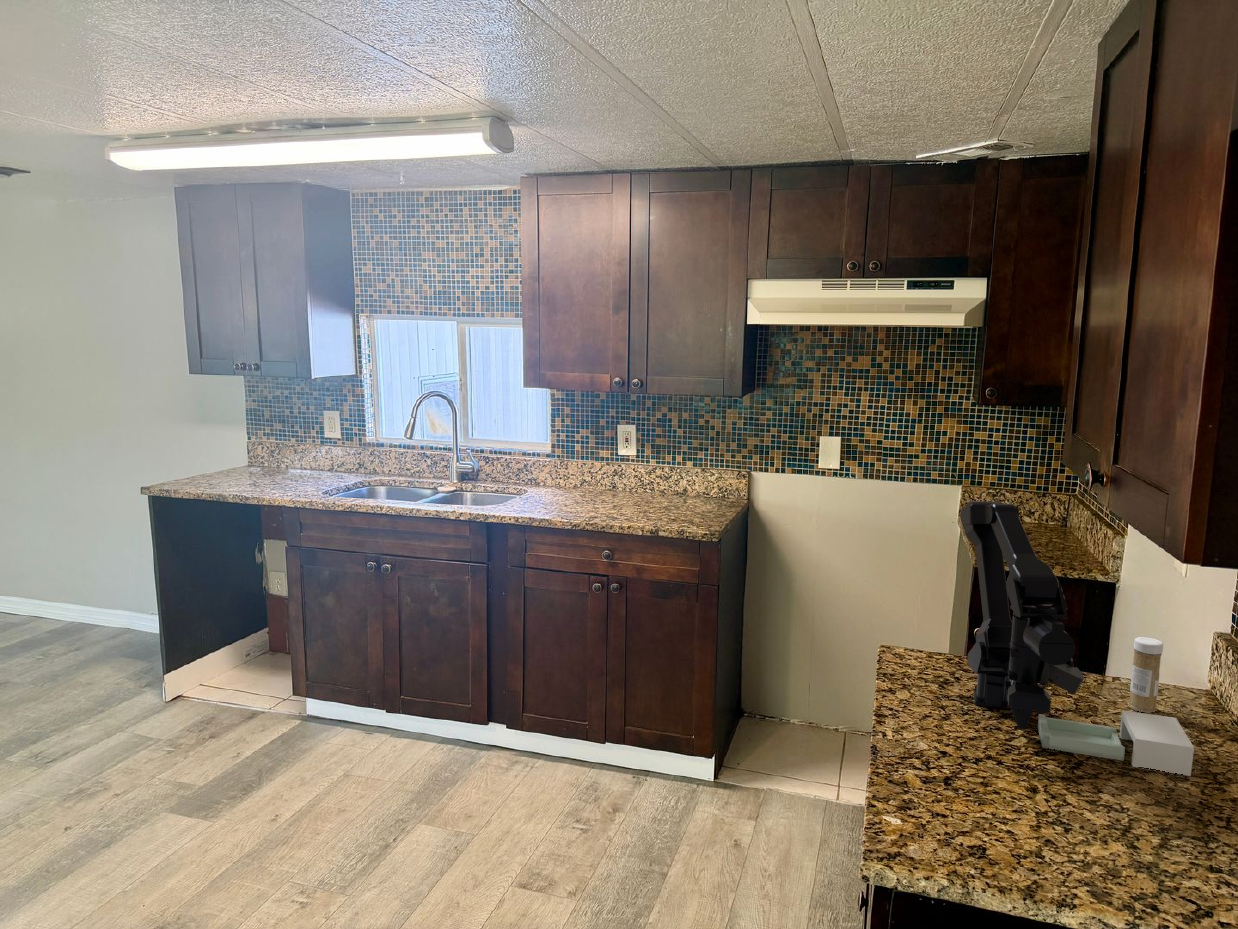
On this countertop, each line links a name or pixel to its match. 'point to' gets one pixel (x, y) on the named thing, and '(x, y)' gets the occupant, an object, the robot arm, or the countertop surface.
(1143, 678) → the sprinkles bottle
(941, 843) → the countertop surface
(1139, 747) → the low shelf
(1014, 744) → the countertop surface
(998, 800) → the countertop surface
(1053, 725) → the tray shell
